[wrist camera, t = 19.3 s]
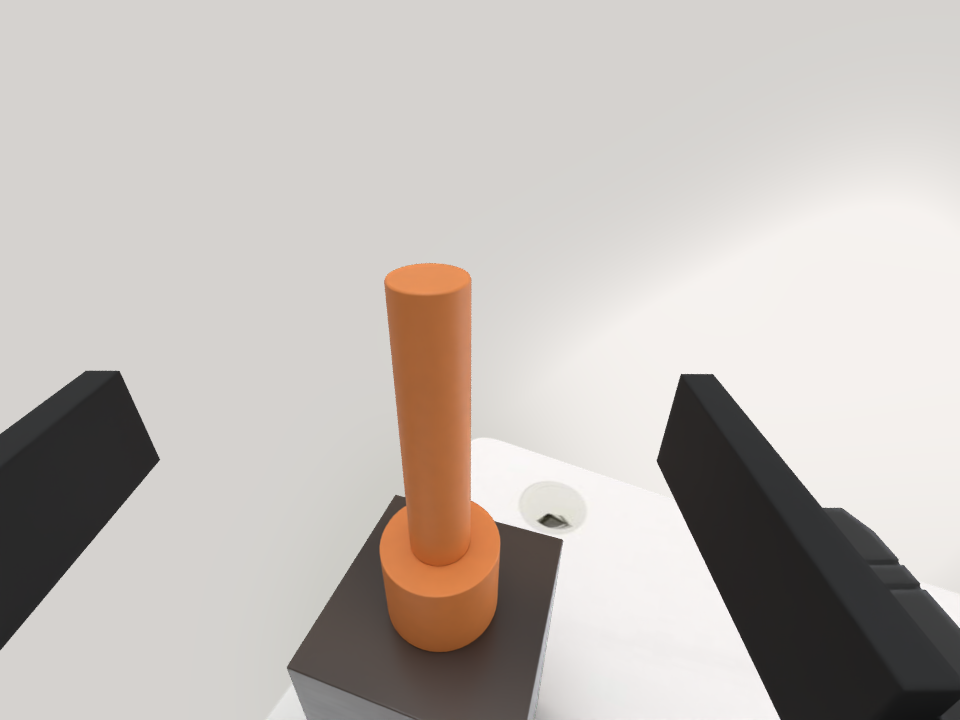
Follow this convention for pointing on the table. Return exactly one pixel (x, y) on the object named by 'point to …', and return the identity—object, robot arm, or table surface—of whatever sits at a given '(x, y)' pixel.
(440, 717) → the stand
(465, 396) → the orange tower post
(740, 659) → the table surface
